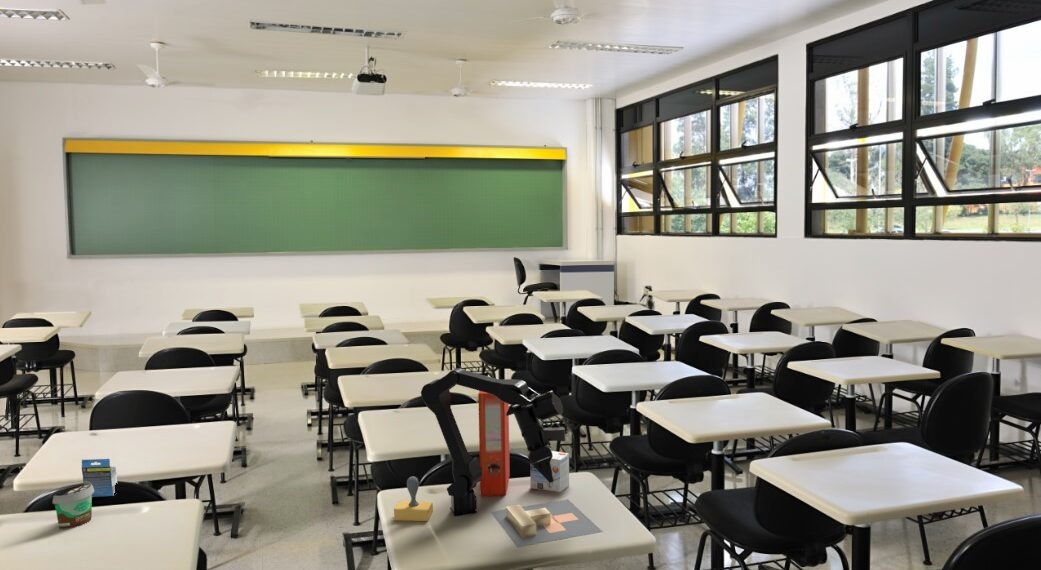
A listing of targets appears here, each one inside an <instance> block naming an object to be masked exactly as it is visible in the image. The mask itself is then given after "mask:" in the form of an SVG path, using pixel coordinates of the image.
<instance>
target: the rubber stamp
mask: <svg viewBox="0 0 1041 570" xmlns="http://www.w3.org/2000/svg"><path fill="white" fill-rule="evenodd" d="M419 487H420V482H419V478H418V477H416V476H410V477H408V478H407V480H406V488H407V490H408V493H409V495H410V498H411V499H410V500H399V501H398V503H397V504H396V505H395V506H394V508H393V518H394V520H393V521H397V522H398V521H400V522H429V521H430V518H431V517H432V515H433V513H434V504H433V501H423V500H422V501H418V500H417V499H416V498H417V494H418V490H419Z"/></svg>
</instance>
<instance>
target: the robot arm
mask: <svg viewBox="0 0 1041 570" xmlns="http://www.w3.org/2000/svg"><path fill="white" fill-rule="evenodd" d="M455 386H460V387H461V386H462V387H464V388H468V389H472V390H474V391H482V392H486V393H489V394H492V395H494V396H496V397H497V398H498V399H500V400H501V401H503V402H505V403H508V404H509V409H508V411H507V413H506V415H507V416H512V415H514V416H513V417H514V418H515V420H516V423H517V424H518V428H519V430H520V433H521V434H520V435H521V437H522V438H523V439H524V442H525V445H526V449H527V452H528V454H527V458H528V461H529V464H530V463H531V464H532V466H534V467H535V468H536V469H537V470H538V471H539V472H540V473H541V474H542V475H543V476H544V477H545V478H546V479H547V480H548V481H549V482H550V483H551V482H553V476H552V469H551V464H550V461H551V459H552V457H553V455H552V451H553V450H552V444H551V442H565V441H566V429H565V427H563V426H560V425H559V422H553V423H552V424H551V426H550V427H544V426H543V424H542V423H541V422H540V420H541V421H546V420H548V419H552V418H554V417H557V416H560V415H562V414H563V412H564V408H563V402H562V400H561V399H560V398H559V396H558V395H557V394H555V393H554V390H550V391H547V392H546V393H542V394H540V393H537V391H535V390H533V389H532V388H531V387H529V385H528V384H527V382H526V381H524V380H523V379H512V378H507V379H506V378H505V379H500V378H495V377H491V376H487V375H484V374H480V373H476V372H472V371H468V370H466V369H463V368H460V367H457V368H456V367H455V368H454V369H452V370H450V371H449V372H448V373H447V374H446V375H444V376H443V377H441V378H438V379H434V380H432V381H431V382H428V383H426V384H424V385H423V386H422V388H421V391H420V395H421V399H422V400H423V402H424V404H425V405H426V407H427V408H428V409H429V410H430V411H431V412H432V413H433V414H434V415H435V418H436V420H437V423H438V426H439V428H440V431H441V433H442V437H443V439H444V441H445V445H446V446H447V448H448V452H449V454H450V457H451V459H452V460H451V461H452V476H453V482H452V483H451V484H450V485H449V486H448V487H446V491H447V493H448V496H450V500H451V501H450V502H451V503H450V506H451V507H449V509H450V511H451V513H452V514H453V516H454V517H461V516H466V515H472V514H473V515H474V514H477V513H478V512H477V508H478V506H477V504H478V502H477V495H476V494H475V490H474V489H475V488H476V487H477V485H478V483H480V480H481V477H482V470H483V469H482V467H481V466H480V458H478V456H476V457H474V458H473V456H472V455H470V454H469V452H468V449H467V447H466V444H465V442H464V439H463V437H462V434H461V431H460V428H459V426H458V423H457V421H456V418H455V416H454V413H453V411H452V407H451V406H452V405H451V404H452V402H451V401H452V395H451V392H450V391H451V389H453V388H454V387H455Z"/></svg>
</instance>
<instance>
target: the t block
mask: <svg viewBox="0 0 1041 570" xmlns="http://www.w3.org/2000/svg"><path fill="white" fill-rule="evenodd" d="M522 507H523V506H521V504H512V505H508V506H507V505H506V506H505V509H506V518H507V519H508V520H509V521H510V522H511V524H512V525H513V526H514V527H515V529H516V530H517V531H518V532H519V534H520V535H521V536H522V537H526V536H531V535H537V533H536V526H540V525H545V524H551V516H550V512H549V511H548V510H547V509H546V508H540V509H534V510H528V511H524V509H523V508H522Z"/></svg>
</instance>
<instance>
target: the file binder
mask: <svg viewBox="0 0 1041 570" xmlns="http://www.w3.org/2000/svg"><path fill="white" fill-rule="evenodd" d="M477 395H478V397H477V398H478V399H477V401H478V434H479V435H478V441H479V442H478V444H479V446H478V447H479V463H480V466H481V467H482V469H483V470H482V477H481V480H480V481H479V484H480V485H479V487H480V489H479V491H480V492H479V493H480V497H491V498H492V497H496V498H498V497H504V496H507V493H508V492H507V491H508V487H509V482H510V481H509V480H510V473H511V472H510V465H511V464H510V420H509V416H510V415H509V416H507V415H506V413H507V411H508V409H509V406H510V404H508V403H505V402H503V401H501V400H500V399H498V398H497V397H496V396H494V395H492V394H489V393H486V392H482V391H479V392H478V393H477Z"/></svg>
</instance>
